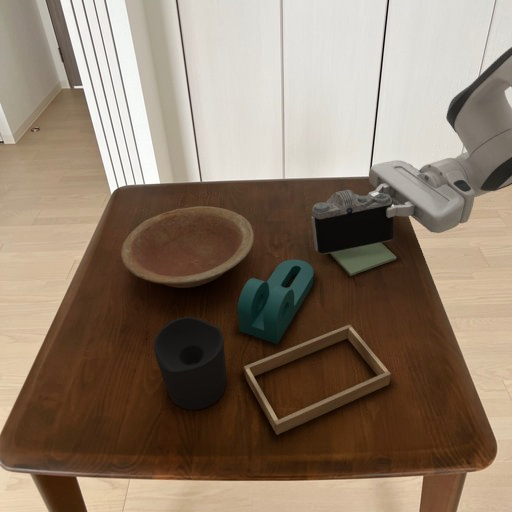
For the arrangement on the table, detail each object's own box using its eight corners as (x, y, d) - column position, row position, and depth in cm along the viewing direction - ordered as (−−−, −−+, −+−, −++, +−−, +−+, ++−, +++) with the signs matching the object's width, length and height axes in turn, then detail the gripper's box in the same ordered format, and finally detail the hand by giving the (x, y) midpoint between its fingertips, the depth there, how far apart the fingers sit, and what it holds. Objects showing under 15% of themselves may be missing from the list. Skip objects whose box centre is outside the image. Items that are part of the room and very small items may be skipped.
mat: (396, 259, 95) (396, 256, 94) (350, 276, 92) (350, 273, 92) (365, 231, 102) (365, 228, 102) (322, 245, 99) (322, 243, 99)
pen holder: (219, 353, 80) (212, 308, 73) (237, 401, 73) (231, 356, 66) (160, 371, 77) (148, 326, 71) (172, 422, 71) (160, 378, 64)
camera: (383, 224, 99) (382, 176, 94) (396, 240, 93) (395, 190, 88) (309, 239, 98) (304, 192, 93) (317, 256, 92) (312, 206, 87)
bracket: (277, 344, 80) (276, 309, 75) (239, 331, 83) (236, 296, 78) (318, 274, 93) (320, 240, 88) (284, 265, 95) (284, 231, 90)
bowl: (257, 230, 104) (255, 198, 99) (253, 316, 85) (250, 281, 80) (143, 233, 105) (135, 200, 100) (115, 317, 87) (104, 282, 82)
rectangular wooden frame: (389, 384, 74) (391, 373, 72) (276, 435, 68) (276, 425, 67) (348, 334, 81) (349, 324, 80) (244, 376, 76) (243, 366, 74)
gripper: (406, 147, 101) (347, 164, 97) (482, 196, 87) (416, 220, 83) (402, 174, 105) (345, 192, 101) (473, 226, 91) (410, 250, 87)
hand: (377, 205), depth 92 cm, fingers closed on camera, 3 cm apart
